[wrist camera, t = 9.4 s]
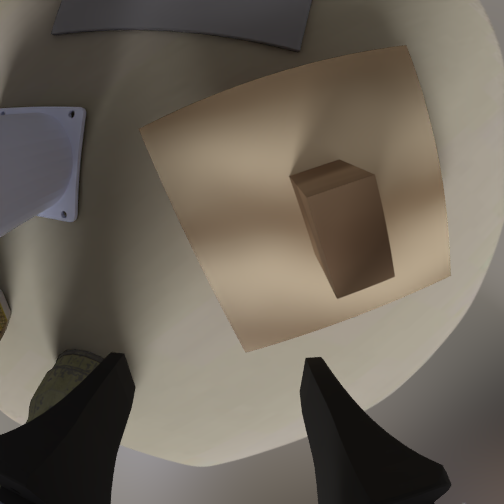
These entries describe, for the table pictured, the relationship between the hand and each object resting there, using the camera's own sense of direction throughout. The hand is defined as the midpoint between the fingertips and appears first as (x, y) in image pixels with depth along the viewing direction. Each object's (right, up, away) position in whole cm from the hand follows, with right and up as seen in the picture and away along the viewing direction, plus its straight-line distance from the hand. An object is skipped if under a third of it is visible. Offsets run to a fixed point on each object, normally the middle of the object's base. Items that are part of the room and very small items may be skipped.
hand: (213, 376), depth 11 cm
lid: (+5, +7, +3) cm, 9 cm away
